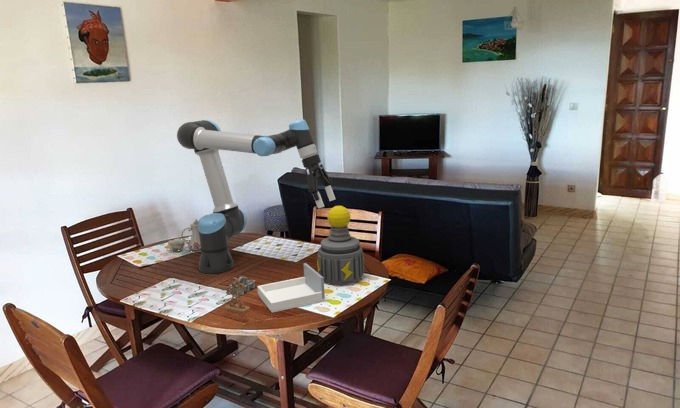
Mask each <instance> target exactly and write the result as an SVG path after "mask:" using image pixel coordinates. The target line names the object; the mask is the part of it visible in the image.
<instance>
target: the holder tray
mask: <svg viewBox="0 0 680 408" xmlns="http://www.w3.org/2000/svg"><path fill="white" fill-rule="evenodd" d="M256 288H257V289H256V290H257V296H258V297H259V298H260V300H261V301H262V302H263V304H264V305H265V306H266V307H267V309H268V310H269V311H270V312H271V313H277V312H282V311H285V310H290V309H291V310H292V309H295V308H299V307H304V306H309V305H313V304H317V303H321V302H325V301H326V297H325V283H324V277H322V276H321V275H320V274H319V273H318V271H316V270H315V269H314V268H313V267H311V266H310V265H309V264H307V262H305V263H303V276H302V277H301V276H300V277H297V278H291V279H286V280H281V281H276V282H271V283H265V284H262V285H260V284H259V285H257V286H256Z"/></svg>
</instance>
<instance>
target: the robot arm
mask: <svg viewBox="0 0 680 408" xmlns="http://www.w3.org/2000/svg"><path fill="white" fill-rule="evenodd" d="M288 128H289V129H287V130H285V131H282V132H280V133H277V134H276V133H275V134H272V135H258V134H249V133H248V134H247V133H240V132H231V131H230V132H229V131H221V127H220V126H219V125H218V124H217V123H215V122H214V121H212V120H208V119H207V120H206V119H205V120H204V119H202V120H196V121H189V122H187V121H186V122H184V123H183V124H181V125H180V126H179V128H178V129H177V131H176V132H177V133H176V138H177V141H178V143H179V145H180V146H182V148H184V149H187V150H193V151H194V154H195V155H197V156H198V157H199V159H200V163H201V166H202V169H203V173H204V176H205V179H206V183H207V186H208V189H209V192H210V195H211V199H212V203H213V205H214V208H213V210H212V213H210V214H206V215H203V216H201V217H200V218H199V220H198V221H199V222H198V230H199V237H200V246H201V253H200V257H199V259H198V260H199V262H198V265H197V266H198V271H199V272H201V273H203V274H219V273H224V272H227V271H229V270H231V269H233V268H234V265H235V263H234V259H233V257H232V255H231V252H230V250H229V244H228V240H229V239H231V238H233V237H235V236H237V235H239V234H240V233H242V232H243V231H244V230H245V228H246V226H247V221H248V220H247V215H246V214H245V212H244V211H243V210H242V209H241V208H239V205H238V203H235V202H234V199H233V196H232V194H231V191H230V186H229V183H228V180H227V177H226V173H225V170H224V166H223V162H222V159H221V156H220V153H219V151H229V152H238V153H248V154H256V155H257V156H259V157H269V156H271V155H276V154H281V153H283V152H285V151H287V150H290V149H292V148H296V150H297V152H298V154H299V157H300V159H302V160H301V163H302V166H303V167H304V169H306V168H307V169H306V170H305V172H304V173H305V176H306V183H307V187H308V193H309V195H312V196H313V200H314V202H315V204H316V207H317V209H322V208H325V204H324V201H323V198H322V196H321V193H320V191H319V190H318V179H319V180H320V182H321V183H322V184H323V185H324V189H325V193H326V195H327V197H328V201H329V202H331V201H334V200H336V196H335V194H334V191H333V188H332V185H333V182H332V180H331V178H330V176H329V175H328V172H326V169H325V168H324V165H323V164H322V163H321V157H320V155H319V154H318V150H317V145H316V144H315V142H314V138H313V135H312V133H311V130H310V127H309V125H308V123H307V121H306V119H299V120H296V121H293V122H291V123H289V124H288Z"/></svg>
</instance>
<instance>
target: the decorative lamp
mask: <svg viewBox="0 0 680 408" xmlns="http://www.w3.org/2000/svg"><path fill="white" fill-rule="evenodd" d="M327 221H328V223H329V225H330V226H331V227H330V231H329V235H328V237H326V238H323V239H322V240H320V246H319V248H318V252H317V261H316V266H317V273H319V274H320V275H321V276H322V277H324V284H327V285H332V286H347V285H348V286H349V285H353V284H355V283H358V282H360V281H361V280H362V279H363V277H364V273H365V266H364V265H365V264H364V263H365V255H364V251H363V247H362V246H361V244H360V240H359V238H357V237H355V236H352V235H351V234H350V230H349V226H348V225H349V223H350V221H351V213H350V211H349V210H348V209H347V208H346V207H344V206H343V205H335V206H333V207H331V208H330V209H329V210H328V213H327Z"/></svg>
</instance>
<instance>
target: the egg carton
mask: <svg viewBox="0 0 680 408" xmlns="http://www.w3.org/2000/svg"><path fill="white" fill-rule="evenodd" d="M237 279H238V280H239V283H240V284H244V286H245V289H244V291H243V292H241V291H242V290H243V289H242V288H238V290H237V296H238V292H239V291H240V292H241V293H240V296H241V295H242V296H243V295H244V294H245V292H250V291H251V289H255V288H256V283H255V282H256V280H255V279H252V278H250V280H249V278H248V277H246V276H244V275H242V276H239V277H238V278H237ZM234 284H235V285H236V284H238V283H235V282H234ZM240 284H239V285H240ZM229 286H232V285H231V284H230V285H229ZM229 286H226V289H227V288H228V287H229ZM237 286H238V285H237ZM237 286H236V287H237ZM241 286H242V285H241ZM238 287H239V286H238ZM242 287H243V286H242ZM228 290H230V291H232V290H234V294H235V293H236V292H235V289H233V287H229V289H228Z"/></svg>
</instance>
